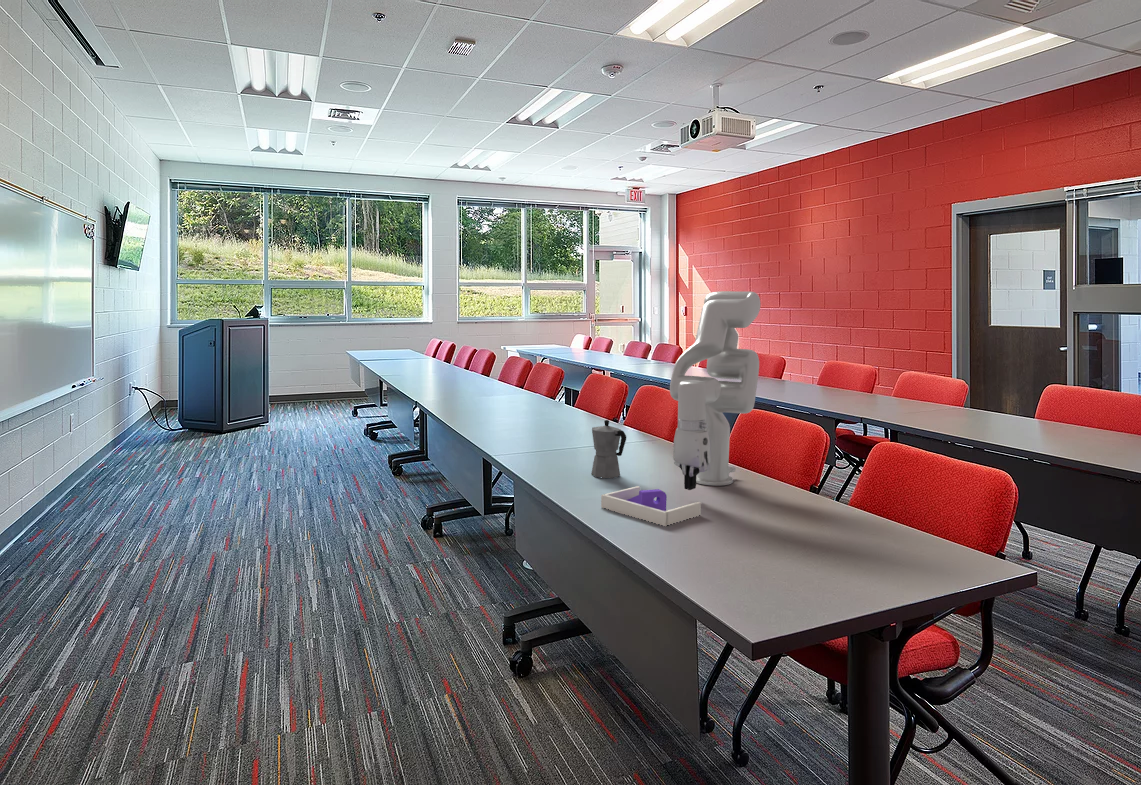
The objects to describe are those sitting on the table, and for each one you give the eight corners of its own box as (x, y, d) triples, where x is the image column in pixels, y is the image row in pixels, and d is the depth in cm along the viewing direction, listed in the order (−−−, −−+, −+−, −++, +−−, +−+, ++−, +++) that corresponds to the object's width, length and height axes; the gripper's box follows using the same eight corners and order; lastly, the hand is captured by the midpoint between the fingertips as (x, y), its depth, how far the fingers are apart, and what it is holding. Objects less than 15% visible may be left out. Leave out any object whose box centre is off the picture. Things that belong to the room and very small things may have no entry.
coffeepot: (581, 473, 228) (582, 418, 226) (602, 469, 234) (603, 416, 232) (613, 482, 216) (614, 425, 214) (635, 478, 222) (636, 422, 220)
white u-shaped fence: (637, 498, 199) (637, 486, 198) (700, 515, 183) (700, 502, 183) (601, 507, 189) (601, 494, 189) (664, 526, 173) (665, 512, 173)
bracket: (666, 516, 183) (666, 490, 182) (641, 518, 181) (642, 492, 180) (647, 504, 194) (647, 479, 194) (624, 506, 192) (624, 481, 191)
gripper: (721, 426, 192) (720, 491, 195) (678, 419, 203) (677, 480, 206) (705, 431, 187) (703, 497, 190) (661, 423, 198) (661, 485, 201)
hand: (690, 488), depth 198 cm, fingers closed
